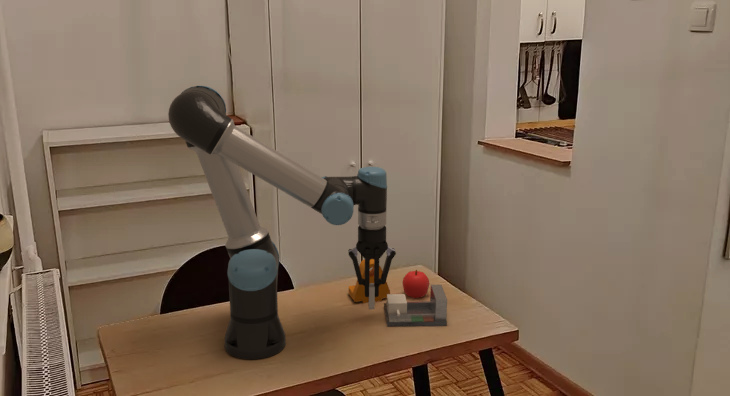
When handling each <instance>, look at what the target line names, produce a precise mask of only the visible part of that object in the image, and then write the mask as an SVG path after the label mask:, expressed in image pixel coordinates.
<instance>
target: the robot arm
mask: <svg viewBox="0 0 730 396" xmlns="http://www.w3.org/2000/svg"><path fill="white" fill-rule="evenodd" d="M167 115H168V116H167V117H168V121H169V125H170V128H171V129H172V130H173V131H174V133H175V134H176V135H177V136H178V137H179V138H180V139H182V140H184V142H185V144H186V147H187V149H189V150H192V152H193V151H194V152H195V153H196V155H197V158H198V160H199V163H200V166H201V169H202V171H203V174H204V176H205V179H206V181H207V184H208V188H209V190H210V193H211V195H212V198H213V201H214V202H215V206H216V208H217V210H218V213H219V216H220V218H221V221H222V224H223V226H224V228H225V231H226V235H227V240H226V243H225V245H224V246H225V248H226V251H227V254H228V256H229V258H230V259H229V261H228V264H227V266H228V267H227V272H226V273H227V278H228V292H229V295H228V296H229V313H230V315H229V316H230V318H229V322H228V326H227V329H226V332H225V336H224V349H225V351H226V353H227V354H229V355H230V356H232V357H235V358H237V359H242V360H260V359H265V358H269V357H273V356H274V355H277V354H279V353H280V352H281V351H283V349H284V348H285V346H286V344H287V343H286V338H287V337H286V332H285V329H284V327H283V325H282V322H281V319H280V317H279V313H278V311H279V309H278V275H279V265H280V253H279V250H278V248H277V246H276V244H275V243H274V242H273V241H272V238H271V235H270V233H269V230H268V228H265V227H263V226H261V225H260V223H259V219H258V217H257V214H256V210H255V209H254V206H253V203H252V201H251V198H250V195H249V191H248V190H247V187H246V184H245V181H244V178H243V175H242V173H241V169H243V170H245V171H247V172H248V173H251V174H252V175H254V176H255V177H257V178H259V179H260V180H263V181H264V182H266V183H268V184H269V185H270V186H272V187H274V188H276V189H278V190H280V191H281V192H283V193H285V194H287V195H289V196H290V197H292V198H294V199H295V200H297V201H299V202H300V203H302V204H304V205H305V206H307V207H308V208H311V209H313V210H314V211H316V212H317V213H319V214H320V215H321V216H322V217H323V218H324V220H325V221H326V222H328V224H331V225H332V226H342V225H345V224H347V223H348V222H349V221H350V220H351V219H352V217H353V215H354V206H357V224H358V226H357V242H356V244H355V247H354V248H353V247H352V248H349V249H348V256H349V258H350V259H351V260H352V264H353V268H354V272H355V275H356V279H357V280H358V283H359V285H364V286H365V297H369V303H368V310H375V308H376V307H375V306H376V305H375V304H376V302H375V297H378V296H379V286H380V285H381V284H385V283H386V282H387V278H388V275H389V271H390V268H391V265H392V261H393V259H394V257H396V255H397V252H396V250H395V248H391V247H390V246H389V245H388V242H387V226H386V225H387V206H388V205H387V202H388V198H387V197H388V183H387V182H388V181H387V177H388V176H387V171H386V170H385V169H383V168H382V167H379V166H365V167H361V168H359V169H358V170H357V175H353V176H326V175H325V176H320V175H318V174H316V173H315V172H313V171H312V170H309V169H308V168H306V167H304V166H303V165H301V164H299V163H298V162H297V161H295V160H294V159H292V158H289V157H288V156H287V155H284V154H283V153H281V152H280V151H278V150H276V149H275V148H273V147H272V146H269V145H268V144H266V143H264V142H263V141H261V140H259V139H258V138H256V137H255V136H253V135H251V134H249V133H247V132H246V131H244V130H243V129H241V128H239V127H238V126H236V125H235V122H234V119H233V118H231V117H230V116H228V115H227V107H226V103H225V100H224V98H223V97H222V95H221V94H220V93H219V92H218V91H217V90H216V89H214V88H212V87H210V86H206V85H196V86H191V87H188V88H186V89H184V90H183V91H182V92H181V93H180V94H179V95H177V96H176V97H175V98H173V100H172V101H171V103H170V106H169V108H168V113H167ZM240 168H241V169H240ZM358 253H359V254H360V255H361V257H362V258H363V259H365V279H363V278H362V275H361V271H360V268H359V265H360V263H359V260H358ZM385 253H386V254H385ZM384 254H385V255H386V256H385V262H384V265H383V268H382V271H383V272H382V275H381V278H380V279H379V266H380V259H381V258H382V257H383V256H384ZM370 259H374V283H369V278H370V270H371V268H370Z"/></svg>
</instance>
